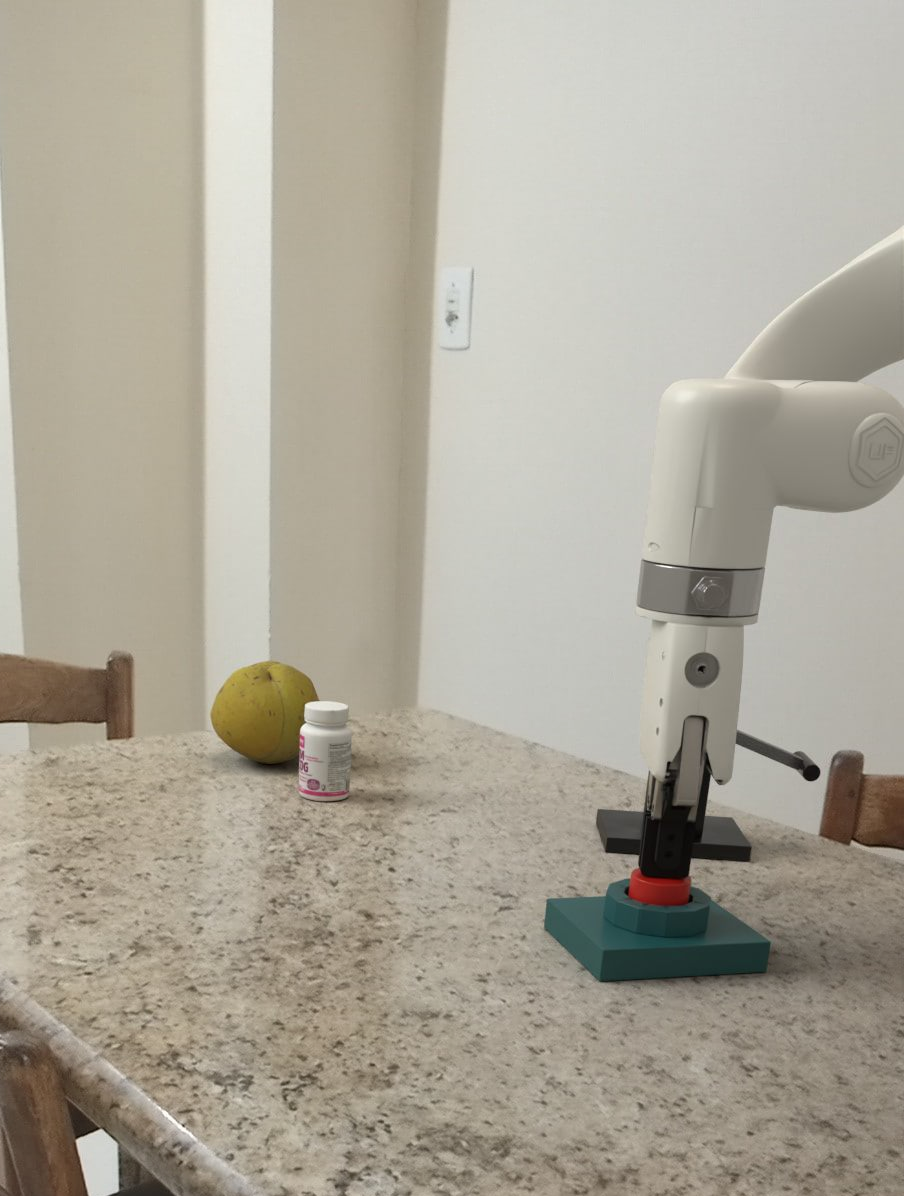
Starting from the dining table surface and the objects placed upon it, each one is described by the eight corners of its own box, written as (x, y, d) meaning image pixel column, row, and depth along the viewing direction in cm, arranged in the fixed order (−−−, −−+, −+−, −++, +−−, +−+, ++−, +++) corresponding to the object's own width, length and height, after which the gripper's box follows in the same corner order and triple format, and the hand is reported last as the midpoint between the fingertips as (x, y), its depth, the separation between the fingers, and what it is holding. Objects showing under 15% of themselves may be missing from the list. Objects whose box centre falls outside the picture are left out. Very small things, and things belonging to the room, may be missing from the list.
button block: (697, 920, 100) (704, 868, 99) (766, 972, 91) (776, 915, 90) (543, 927, 97) (548, 873, 96) (599, 981, 88) (606, 923, 87)
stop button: (671, 889, 95) (675, 865, 95) (698, 908, 92) (702, 883, 91) (618, 891, 94) (621, 867, 94) (643, 911, 91) (646, 886, 90)
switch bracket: (730, 831, 123) (752, 688, 118) (749, 861, 115) (773, 708, 110) (595, 822, 124) (612, 679, 119) (605, 852, 115) (623, 699, 110)
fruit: (344, 761, 140) (348, 662, 137) (275, 782, 131) (277, 677, 128) (258, 743, 146) (260, 648, 142) (186, 762, 137) (186, 661, 133)
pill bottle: (287, 793, 128) (289, 702, 125) (326, 786, 131) (329, 698, 128) (320, 805, 125) (323, 712, 121) (359, 797, 128) (363, 707, 124)
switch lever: (798, 774, 119) (812, 749, 118) (812, 789, 114) (826, 763, 113) (661, 715, 118) (674, 689, 117) (669, 728, 113) (682, 701, 112)
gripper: (785, 613, 78) (739, 915, 85) (737, 583, 92) (701, 844, 99) (653, 606, 79) (617, 907, 86) (625, 577, 93) (596, 838, 100)
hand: (662, 873), depth 92 cm, fingers closed
